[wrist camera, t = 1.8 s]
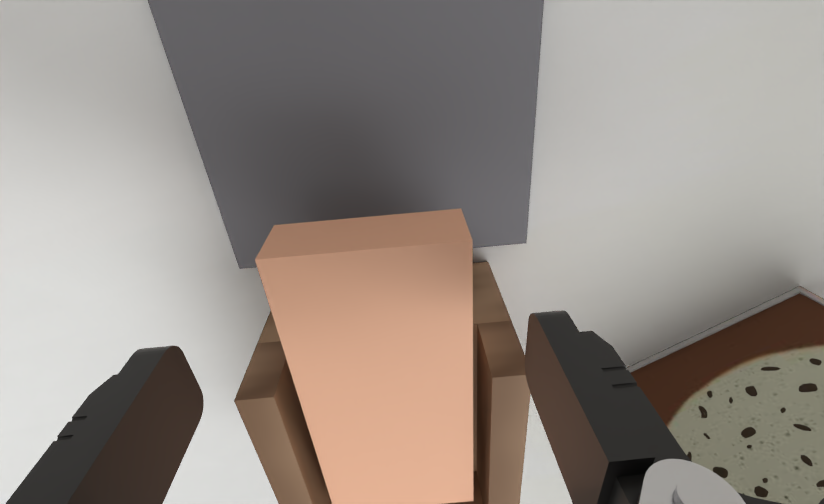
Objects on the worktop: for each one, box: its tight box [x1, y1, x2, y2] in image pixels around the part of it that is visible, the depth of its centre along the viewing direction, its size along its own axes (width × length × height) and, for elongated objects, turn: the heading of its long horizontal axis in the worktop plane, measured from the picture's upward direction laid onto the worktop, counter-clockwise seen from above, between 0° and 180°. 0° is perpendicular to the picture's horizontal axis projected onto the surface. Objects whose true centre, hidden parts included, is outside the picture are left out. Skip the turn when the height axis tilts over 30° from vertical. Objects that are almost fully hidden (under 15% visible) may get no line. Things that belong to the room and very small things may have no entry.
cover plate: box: [255, 208, 473, 504], centre depth 14 cm, size 6×12×2 cm, turn 5°
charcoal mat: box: [148, 0, 544, 269], centre depth 14 cm, size 12×13×1 cm
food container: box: [626, 286, 824, 504], centre depth 18 cm, size 12×6×10 cm, turn 126°
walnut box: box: [234, 262, 530, 504], centre depth 18 cm, size 9×10×6 cm
